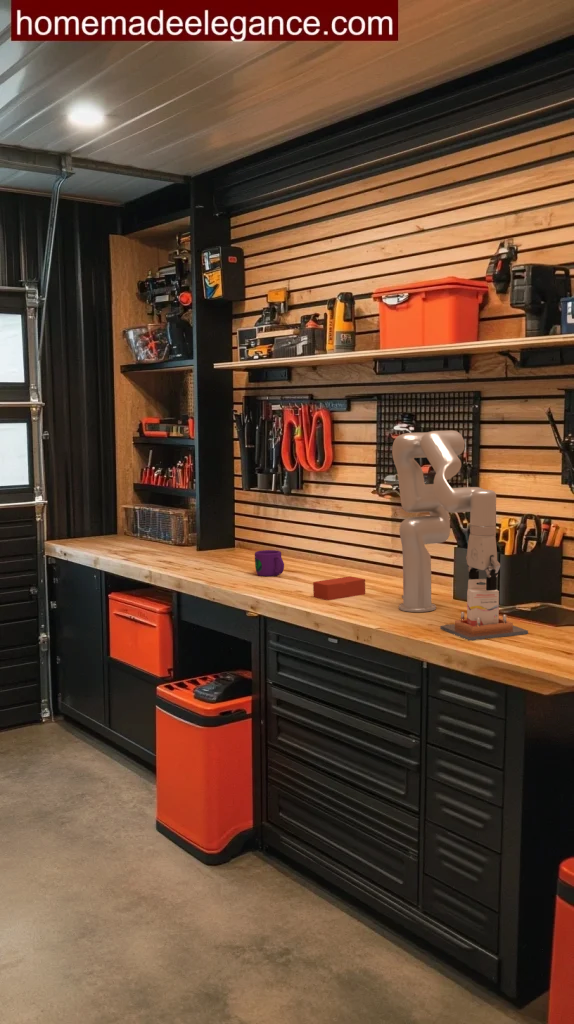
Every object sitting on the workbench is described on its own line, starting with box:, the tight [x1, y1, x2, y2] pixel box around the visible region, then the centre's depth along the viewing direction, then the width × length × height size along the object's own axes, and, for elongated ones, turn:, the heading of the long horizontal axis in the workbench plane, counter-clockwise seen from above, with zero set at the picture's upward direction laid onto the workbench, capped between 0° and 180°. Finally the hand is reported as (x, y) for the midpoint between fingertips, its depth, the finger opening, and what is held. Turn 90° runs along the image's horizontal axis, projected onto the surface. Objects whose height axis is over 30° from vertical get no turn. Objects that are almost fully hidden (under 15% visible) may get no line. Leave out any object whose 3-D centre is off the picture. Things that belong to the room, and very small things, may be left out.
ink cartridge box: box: [466, 578, 500, 626], centre depth 274 cm, size 9×5×15 cm, turn 95°
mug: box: [254, 549, 285, 578], centre depth 385 cm, size 17×11×10 cm, turn 34°
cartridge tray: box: [439, 611, 529, 641], centre depth 274 cm, size 17×20×6 cm
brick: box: [312, 576, 366, 601], centre depth 337 cm, size 18×9×6 cm, turn 125°
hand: (482, 587), depth 274 cm, fingers open, 9 cm apart
